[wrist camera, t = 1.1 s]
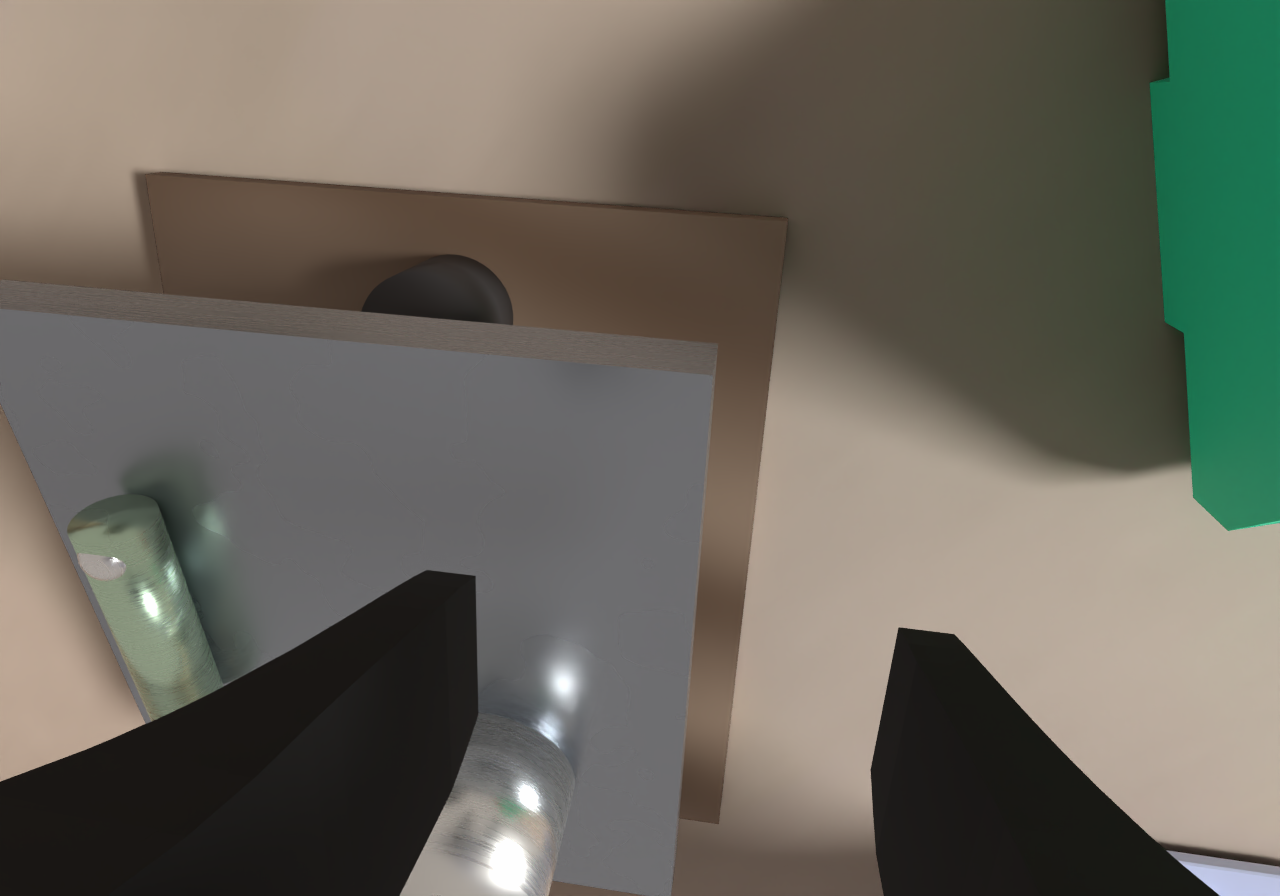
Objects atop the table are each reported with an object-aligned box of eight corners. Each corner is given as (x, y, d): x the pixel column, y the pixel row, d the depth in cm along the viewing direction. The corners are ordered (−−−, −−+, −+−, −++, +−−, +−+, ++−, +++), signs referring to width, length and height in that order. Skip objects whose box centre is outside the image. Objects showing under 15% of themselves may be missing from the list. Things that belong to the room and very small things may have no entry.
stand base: (718, 815, 24) (712, 897, 22) (247, 745, 26) (191, 814, 23) (787, 217, 18) (789, 237, 16) (162, 171, 20) (74, 182, 17)
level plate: (675, 859, 21) (653, 1042, 18) (212, 787, 23) (113, 946, 19) (718, 343, 13) (692, 502, 10) (2, 279, 15) (-226, 401, 11)
